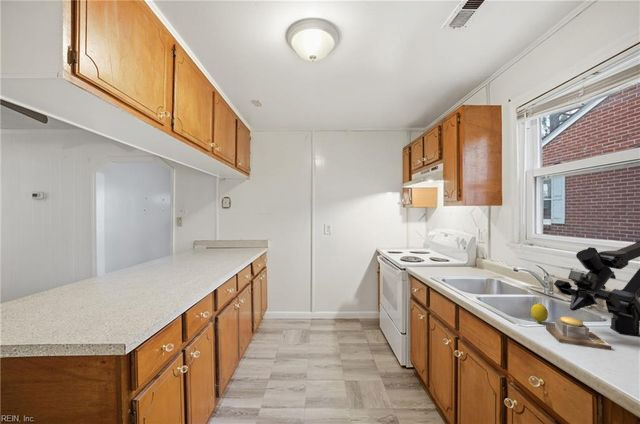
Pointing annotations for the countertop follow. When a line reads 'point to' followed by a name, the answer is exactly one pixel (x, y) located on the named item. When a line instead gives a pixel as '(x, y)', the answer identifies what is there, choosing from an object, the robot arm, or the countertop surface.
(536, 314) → the lemon
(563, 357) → the countertop surface
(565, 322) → the button
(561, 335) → the board
